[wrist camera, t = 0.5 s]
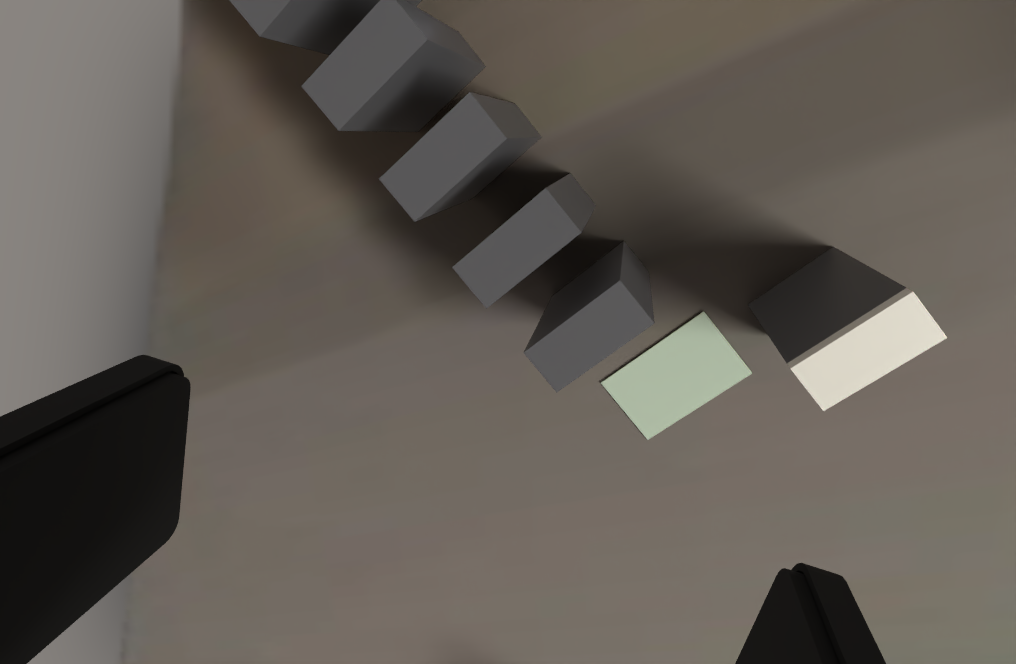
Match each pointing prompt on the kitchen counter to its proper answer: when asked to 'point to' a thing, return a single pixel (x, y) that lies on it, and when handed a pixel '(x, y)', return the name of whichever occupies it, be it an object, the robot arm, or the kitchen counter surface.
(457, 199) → the domino
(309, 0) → the domino
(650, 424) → the pad
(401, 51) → the domino
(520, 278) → the domino
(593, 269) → the domino
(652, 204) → the kitchen counter surface
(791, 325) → the domino
